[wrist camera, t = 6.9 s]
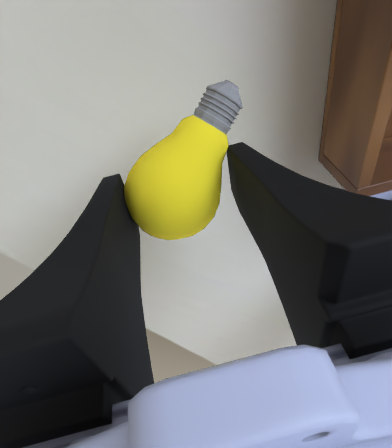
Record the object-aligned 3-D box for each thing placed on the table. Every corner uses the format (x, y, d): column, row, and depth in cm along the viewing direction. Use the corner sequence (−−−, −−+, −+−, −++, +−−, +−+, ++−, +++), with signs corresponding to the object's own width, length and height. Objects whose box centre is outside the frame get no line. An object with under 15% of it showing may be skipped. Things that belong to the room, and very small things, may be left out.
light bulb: (117, 200, 13) (99, 228, 10) (185, 64, 12) (191, 42, 8) (186, 234, 14) (192, 271, 11) (259, 111, 12) (291, 109, 9)
